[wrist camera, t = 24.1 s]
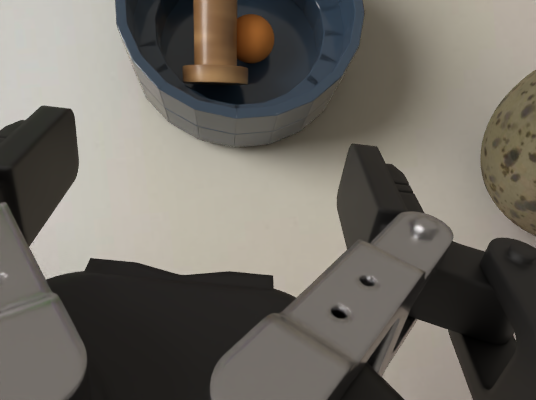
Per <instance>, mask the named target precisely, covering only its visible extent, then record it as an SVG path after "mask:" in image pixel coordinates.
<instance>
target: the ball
mask: <svg viewBox="0 0 536 400" xmlns="http://www.w3.org/2000/svg"><path fill="white" fill-rule="evenodd" d="M273 45H274V33H273V29H272V27H271V25H270V24H269V23H268V21H266V20H265V19H264V18H263V17H261V16H258V15H255V14H247V15H243V16H241V17H239V18H238V19H237V59H239V60H240V61H242V62H245V63H257V62H260V61H262V60H264V59H265V58H266V57H267V56H268V55H269V54H270V52H271V51H272V48H273Z"/></svg>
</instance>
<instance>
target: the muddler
mask: <svg viewBox="0 0 536 400" xmlns="http://www.w3.org/2000/svg"><path fill="white" fill-rule="evenodd" d="M193 9H194V65H185V66H183V83H186V84H201V85H247V84H248V68H247V67H242V66H237V0H193Z"/></svg>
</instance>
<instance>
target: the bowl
mask: <svg viewBox="0 0 536 400" xmlns="http://www.w3.org/2000/svg"><path fill="white" fill-rule="evenodd" d="M115 7H116V24H117V28H118V31H119V33H120V36H121V38H122V41H123V43H124V46H125V48H126V51H127V54H128V56H129V59H130V61H131V64H132V66H133V69H134V71H135V73H136V76H137V78H138V80H139V83H140V85H141V87H142V89H143V92H144V94H145V96H146V98H147V99H148V100H149V101H150V103H151V104H152V105H153V106H154V107H155V108H156V109H157V110H158V111H159V112H160V113H161V114H162V116H163V117H164V118H165V119H166V120H167V121H168V122H169V123H171V124H173V125H174V126H176V127H178V128H180V129H181V130H183V131H185V132H187V133H188V134H190V135H192V136H194V137H196V138H197V139H200V140H203V141H208V142H212V143H217V144H221V145H226V146H231V147H245V146H257V145H268V144H271V143H274V142H276V141H278V140H281V139H283V138H286V137H288V136H290V135H293V134H295V133H298V132H299V131H301V130H302V129H303V128H305V127H306V126H307V125H308V124H309V123H310V122H312V121H313V120H314V119H315V118H316V117H317V116H318V115H320V114H321V113H322V112H323V111H324V110H325V108H326V106H327V104H328V103H329V101H330V99H331V97H332V95H333V94H334V92H335V90H336V88H337V87H338V85H339V83H340V81H341V79H342V78H343V76H344V74H345V72H346V70H347V68H348V66H349V64H350V63H351V61H352V59H353V57H354V55H355V53H356V51H357V50H358V48H359V44H360V38H361V32H362V26H363V20H364V6H363V1H362V0H237V19H238V18H239V17H241V16H243V15H247V14H255V15H258V16H261V17H263V18H264V19H265V20H266V21H268V23H269V24H270V25H271V27H272V29H273V33H274V45H273V48H272V51H271V52H270V54H269V55H268V56H267V57H266V58H265V59H264V60H262V61H260V62H257V63H245V62H242V61H240V60H239V59H237V66H242V67H247V68H248V84H247V85H201V84H186V83H183V66H185V65H194V9H193V0H115Z"/></svg>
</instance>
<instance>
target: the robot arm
mask: <svg viewBox="0 0 536 400" xmlns="http://www.w3.org/2000/svg"><path fill="white" fill-rule="evenodd" d="M78 166H79V157H78V147H77V137H76V126H75V117H74V113H73V111H72V110H71V109H67V108H59V107H51V106H41V107H40V108H39V109H37V110H36V111H35V112H34V113H33V114H32V115H31V116H30V117H29V118H28V119H26V120H20V121H18V122H15V123H13V124H10V125H8V126H5V127H4V128H3V129H2V130H0V400H404V399H403V398H402V397H401V396H400V395H399V394H398V393H397V392H396V391H395V390H394V389H393V388H392V387H391V386H390V385H389V384H388V383H387V382H386V381H385V380H384V379H383V378H382V376H383V374H384V372H385V370H386V368H387V367H388V365H389V363H390V362H391V360H392V359H393V357H394V356H395V354H396V353H397V351H398V349H399V348H400V346H401V345H402V343H403V342H404V340H405V339H406V337H407V335H408V334H409V332H410V331H411V329H412V328H413V326H414V325H415V323H416V321H417V319H419V320H422V321H425V322H428V323H431V324H434V325H437V326H440V327H442V328H445V329H448V332H449V335H450V338H451V341H452V343H453V346H454V349H455V352H456V354H457V357H458V360H459V363H460V365H461V368H462V371H463V374H464V376H465V379H466V382H467V385H468V387H469V390H470V393H471V395H472V398H473V400H536V248H534V247H532V246H530V245H528V244H526V243H524V242H521V241H518V240H515V239H510V238H496V239H493V240H492V241H491V242H490V243H489V245H488V247H487V249H486V251H485V252H484V251H481V250H478V249H474V248H471V247H468V246H464V245H461V244H458V243H456V242H453V241H452V240H453V233H452V231H451V229H450V228H449V227H448V226H447V225H446V224H445V223H444V222H442V221H441V220H439V219H437V218H435V217H433V216H431V215H428V214H425V213H424V212H423V210H422V208H421V206H420V204H419V202H418V200H417V198H416V196H415V194H413V191H412V189H411V187H410V186H409V183H408V181H407V179H406V177H405V176H404V174H403V173H402V172H401V171H400V170H398V169H397V168H396V167H395V166H394V165H392V164H385V162H384V159H383V157H382V155H381V153H380V151H379V149H378V147H377V146H368V145H360V144H351V146H350V148H349V150H348V154H347V158H346V161H345V165H344V169H343V173H342V177H341V181H340V185H339V189H338V194H337V210H338V214H339V218H340V222H341V226H342V230H343V234H344V238H345V242H346V246H347V251H346V252H345V253H343V254H342V255H341V256H340V257H339V258H338V259H337V260H336V261H335V262H334V263H333V264H332V265H331V266H330V267H329V268H328V269H327V270H326V271H325V272H323V273H322V274H321V275H320V276H319V277H318V278H317V279H316V280H315V281H314V282H313V283H312V284H311V285H310V286H309V287H308V288H307V289H306V290H304V291H303V292H302V293H301V294H300V295H299V296H298V297H297V298H296V297H294V296H292V295H290V294H287V293H285V292H282V291H280V290H276V289H273V276H271V275H261V274H250V273H240V272H230V271H229V272H217V273H205V274H193V275H179V274H175V273H171V272H168V271H164V270H161V269H157V268H154V267H150V266H147V265H143V264H140V263H135V262H125V261H114V260H104V259H93V258H90V261H89V263H88V265H87V267H86V269H85V271H81V272H74V273H68V274H64V275H60V276H56V277H53V278H50V279H47V280H45V278H44V276H43V274H42V272H41V270H40V268H39V266H38V264H37V262H36V260H35V258H34V256H33V254H32V252H31V250H30V248H29V246H30V245H31V243H32V242H33V240H34V239H35V237H36V236H37V235H38V233H39V232H40V230H41V229H42V227H43V226H44V224H45V223H46V221H47V220H48V218H49V217H50V216H51V214H52V213H53V211H54V210H55V208H56V207H57V205H58V204H59V202H60V201H61V199H62V198H63V197H64V195H65V194H66V192H67V191H68V189H69V188H70V186H71V185H72V183H73V182H74V180H75V179H76V176H77V173H78ZM514 332H515V335H516V340H515V338H514V337H513V334H514Z"/></svg>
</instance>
